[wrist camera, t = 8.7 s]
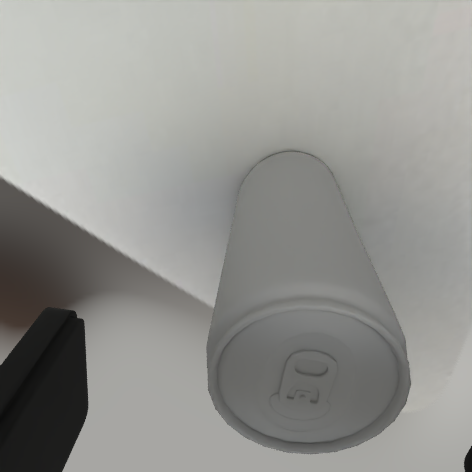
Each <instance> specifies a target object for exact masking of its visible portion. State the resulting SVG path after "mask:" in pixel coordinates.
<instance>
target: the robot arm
mask: <svg viewBox="0 0 472 472" xmlns="http://www.w3.org/2000/svg"><path fill="white" fill-rule="evenodd" d="M84 328H85V326H84V320H83V319H80V318H77V314H76V312H75V311H72V310H65V309H58V308H51V307H48V308H46V309H45V310H44V311H43V312H42V313H41V314H40V316H39V317H38V318H37V319H36V321H35V322H34V323H33V325H32V326H31V327H30V328H29V330H28V331H27V332H26V334H25V335H24V336H23V337H22V339H21V340H20V341H19V343H18V344H17V345H16V346H15V348H14V349H13V350H12V352H11V353H10V354H9V355H8V357H7V358H6V359H5V361H4V362H3V363H2V365H0V472H62V471H63V469H64V466H65V464H66V462H67V460H68V458H69V455H70V453H71V451H72V448H73V446H74V444H75V442H76V440H77V438H78V435H79V433H80V431H81V429H82V427H83V424H84V422H85V419H86V416H87V412H88V388H87V369H86V349H85V348H86V347H85V329H84ZM464 468H465V472H472V446H471V448H470V450H469V452H468V453H467V455H466V457H465V461H464Z"/></svg>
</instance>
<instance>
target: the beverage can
mask: <svg viewBox="0 0 472 472" xmlns="http://www.w3.org/2000/svg"><path fill="white" fill-rule="evenodd" d="M207 368H208V391H209V393H210V396H211V398H212V401H213V404H214V406H215V409H216V410H217V411H218V413H219V414H220V415H221V416H222V418H223V419H224V420H225V421H226V423H227V424H228V425H229V426H231V427H232V428H233V429H235V430H236V431H237V432H238V433H240V434H241V435H243V436H244V437H245V438H247V439H249V440H252V441H254V442H256V443H258V444H260V445H262V446H264V447H268V448H272V449H276V450H280V451H283V452H288V453H301V454H319V453H329V452H337V451H340V450H343V449H347V448H351V447H354V446H357V445H359V444H361V443H363V442H365V441H367V440H369V439H371V438H373V437H375V436H377V435H378V434H380V433H381V432H382V431H383V430H384V429H385V428H387V427H388V426H389V425H390V424H391V423H392V422H394V421H395V419H396V417H397V416H398V415H399V413H400V412H401V410H402V409H403V407H404V406H405V404H406V401H407V397H408V393H409V390H410V386H411V379H410V369H409V362H408V360H407V350H406V340H405V337H404V334H403V332H402V329H401V327H400V325H399V322H398V320H397V318H396V315H395V313H394V311H393V308H392V306H391V304H390V302H389V299H388V297H387V295H386V293H385V291H384V288H383V286H382V284H381V282H380V280H379V277H378V275H377V273H376V271H375V269H374V267H373V265H372V263H371V260H370V258H369V256H368V254H367V252H366V250H365V247H364V245H363V243H362V241H361V239H360V237H359V234H358V232H357V230H356V228H355V226H354V223H353V221H352V219H351V216H350V214H349V212H348V209H347V207H346V205H345V202H344V200H343V197H342V195H341V193H340V190H339V188H338V186H337V183H336V181H335V179H334V176H333V174H332V172H331V171H330V170H329V169H328V167H327V166H326V165H325V164H324V163H323V162H321V161H320V160H318V159H317V158H315V157H314V156H311V155H308V154H305V153H301V152H282V153H278V154H274V155H272V156H270V157H268V158H266V159H264V160H263V161H261V162H260V163H259V164H258V165H256V166H255V167H254V168H253V169H252V170H251V171H250V173H249V174H248V175H247V177H246V178H245V180H244V181H243V183H242V186H241V188H240V191H239V193H238V198H237V203H236V208H235V213H234V217H233V222H232V226H231V231H230V236H229V240H228V245H227V250H226V254H225V259H224V264H223V269H222V274H221V278H220V283H219V288H218V293H217V298H216V302H215V307H214V313H213V317H212V322H211V327H210V331H209V336H208V341H207Z"/></svg>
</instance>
